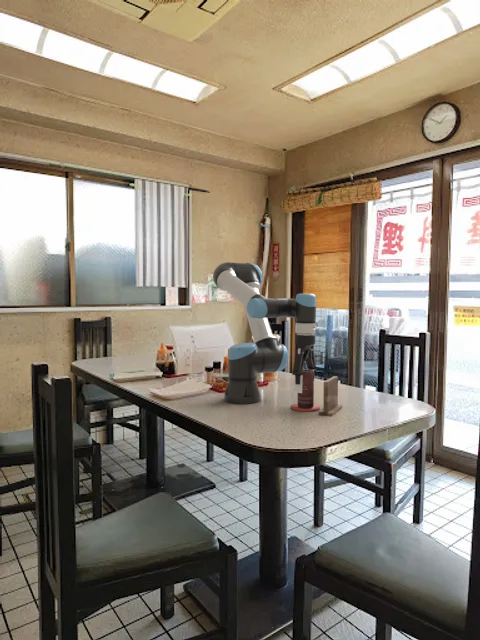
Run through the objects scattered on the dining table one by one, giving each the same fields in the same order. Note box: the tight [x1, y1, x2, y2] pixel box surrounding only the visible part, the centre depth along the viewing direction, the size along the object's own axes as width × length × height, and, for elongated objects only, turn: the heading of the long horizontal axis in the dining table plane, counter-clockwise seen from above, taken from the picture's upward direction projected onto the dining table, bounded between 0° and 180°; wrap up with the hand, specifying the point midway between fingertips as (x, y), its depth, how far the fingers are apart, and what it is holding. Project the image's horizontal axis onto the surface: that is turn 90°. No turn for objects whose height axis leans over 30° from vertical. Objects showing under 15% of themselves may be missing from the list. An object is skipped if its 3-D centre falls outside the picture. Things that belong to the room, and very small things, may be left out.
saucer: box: [290, 403, 321, 413], centre depth 171 cm, size 11×11×1 cm
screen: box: [318, 375, 343, 417], centre depth 166 cm, size 5×14×12 cm, turn 153°
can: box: [297, 369, 315, 409], centre depth 170 cm, size 6×6×14 cm
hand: (304, 389), depth 171 cm, fingers open, 13 cm apart
